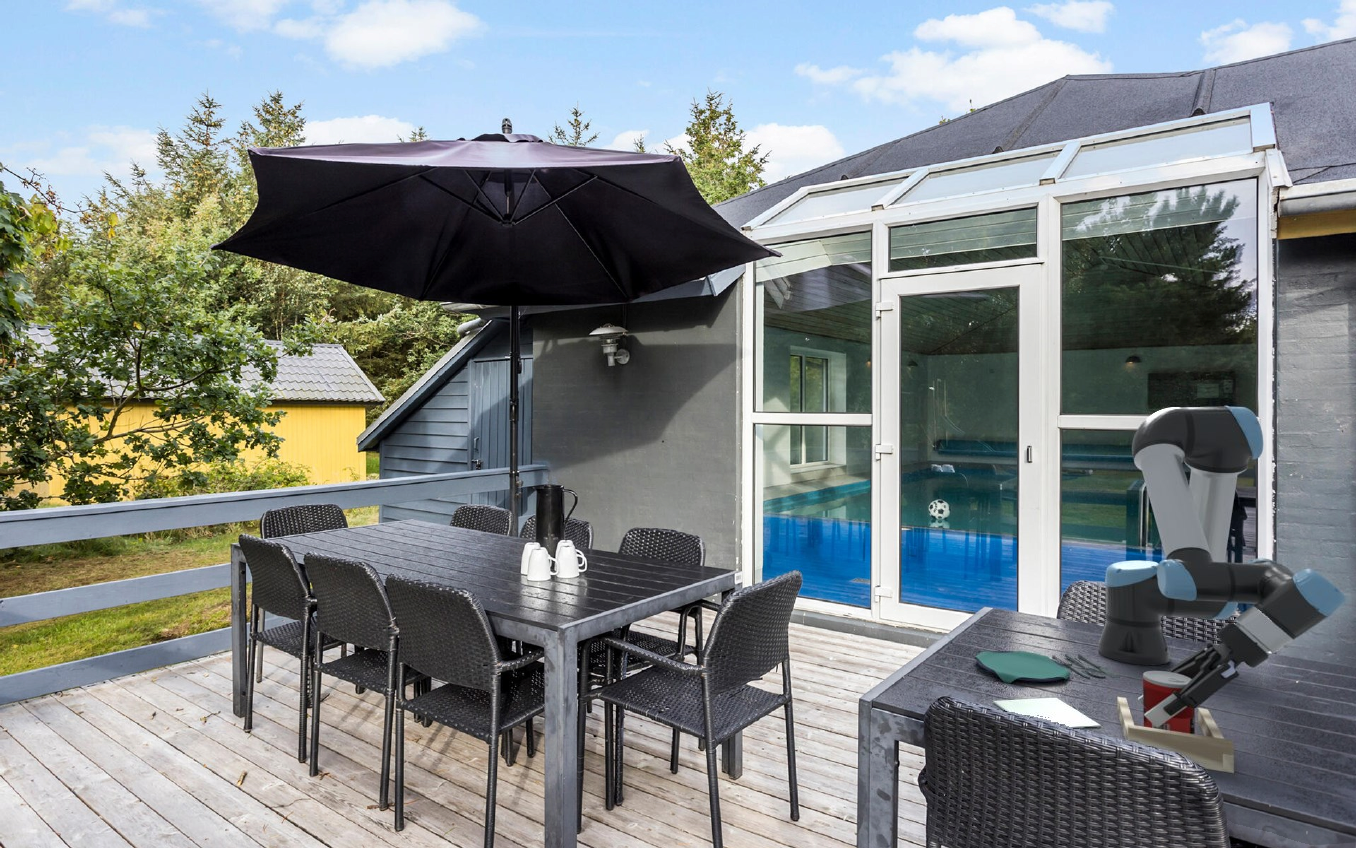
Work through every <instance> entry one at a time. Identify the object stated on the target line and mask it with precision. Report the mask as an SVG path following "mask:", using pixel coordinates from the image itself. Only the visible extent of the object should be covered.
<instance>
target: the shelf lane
mask: <svg viewBox="0 0 1356 848" xmlns="http://www.w3.org/2000/svg"><path fill="white" fill-rule="evenodd" d="M1116 699H1117V703H1116V704H1117V706H1116V707H1117V714H1118V718H1119V722H1121V723H1120V726H1121V730H1122V729H1123V730H1122V734H1123V733H1124V734H1123V737H1124V736H1125V738H1124V740H1125V739H1127V740H1128V741H1133V742H1136V743H1142V744H1145V745H1147V746H1155V747H1157V748H1162V749H1164V750H1169V751H1174V752H1177V753H1180V754H1181V755H1184V756H1186V758H1189V759H1190V760H1193V762H1195V763H1198V764H1199V765H1203V767H1205V768H1204V769H1206V770H1212V771H1218V772H1224V773H1230V774H1235V751H1234V750H1235V748H1234V747H1235V743H1234V741H1233V739H1226V738H1224V736H1223V734H1222V732H1221V730H1220V729H1219V727H1218V725H1217V723H1216V721H1215V720H1214V718H1213V716H1212V715H1211V713H1210V711H1209V709H1208V708H1203V707H1197V724H1198V726H1199V727H1200V729H1201V731H1202V733H1203V735H1201V734H1196V733H1195V734H1188V733H1182V732H1175V731H1169V730H1162V729H1155V728H1149V727H1144V726H1142V725H1141V726H1140V725H1135V723H1134V720H1133V717H1132V713H1131V711H1130V707H1129V704H1128V700H1127V697H1124V696H1123V697H1121V696H1117V698H1116Z"/></svg>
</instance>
